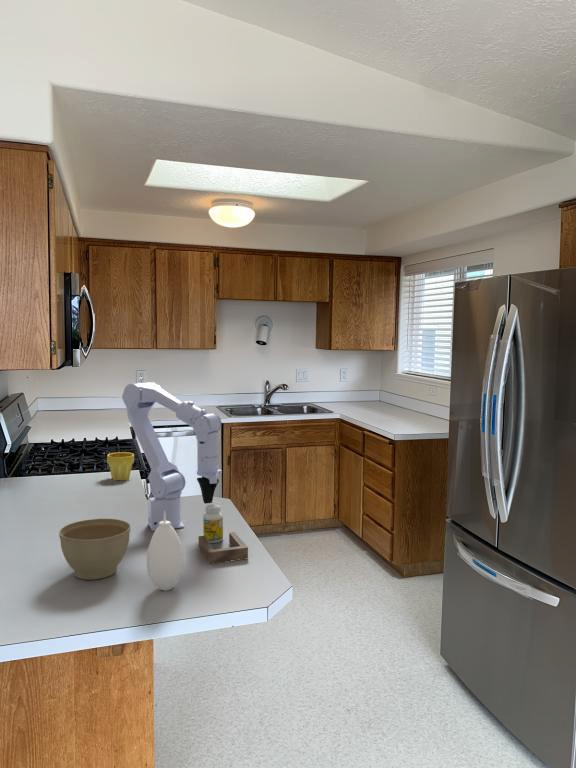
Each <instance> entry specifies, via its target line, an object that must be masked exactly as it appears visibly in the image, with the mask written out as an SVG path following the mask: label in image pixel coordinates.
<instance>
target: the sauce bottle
mask: <svg viewBox="0 0 576 768" xmlns="http://www.w3.org/2000/svg"><path fill="white" fill-rule="evenodd" d="M146 553H147V554H146V569H147V573H148V577H149V580H150V582H151V583H152V585H153V586H155V587H157V589H158V590H161V591H163V590H165V591H164V592H166V590H167V591H169V590H170V589H173V588H174V586H175V585H177V584H178V582H179V581H180V579H181V576H182V574H183V569H184V551H183V547H182V542H181V539H180V538H179V535H178V533H177V532H176V530H175V528H173V527H172V526H171V522H170V521H166V513H165V510H164V521H161V522H159V527H158V528H157V529H156V531H153V534H152V537H151V539H150V542H149V545H148V549H147V552H146Z"/></svg>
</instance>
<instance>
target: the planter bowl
mask: <svg viewBox="0 0 576 768" xmlns="http://www.w3.org/2000/svg"><path fill="white" fill-rule="evenodd" d="M130 532H131V524H130V523H129V522H128V521H126V520H122V519H118V518H117V519H116V518H91V519H84V520H79V521H75V522H71V523H69V524H67V525H64V526H62V527H61V528H60V529H59V531H58V535H59V539H60V547H61V551H62V553H63V556H64V559H65V560H66V563H67V564H68V566H69V567H70V568H71V569H72V570H73V572H74V576H75V577H76V578H79V579H80V580H81V579H82V580H99V579H104V578H107V577H110V576H112V575H114V574H116V572H117V570H118V569H117V568H118V566H119V564H120V563H121V562H122V560H123V558H124V557H125V554H126V553H127V550H128V548H129V547H128V546H129V542H130Z"/></svg>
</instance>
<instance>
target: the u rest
mask: <svg viewBox="0 0 576 768" xmlns="http://www.w3.org/2000/svg"><path fill="white" fill-rule="evenodd" d="M228 543H230V544H231V545H230V544H229V545H230V547H223V548H217V549H214V548H213V546H212V545H211V543H209V542H208V541H207V539H206V538H205V536H204V535H198V549H199V548H200V549H199V550H200V552H201V553H202V555H203V556H204V558H205V560H206V559H207V560H206V561H207V563H208V562H209V563H208V564H209V565H212V564H211V563H215V564H220V563H219V562H222V563H226V562H225V561H229V562H232V561H231V560H236V561H239V560H238V559H244V560H246V559H245V558H248V559H249V547H248V546H247V544H245V542H244V541H243V540H242V539H241V537H239V536H238V534H237V533H236V532H235V531H232V532H231V531H230V532H229V533H228Z"/></svg>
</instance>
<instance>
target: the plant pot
mask: <svg viewBox="0 0 576 768" xmlns="http://www.w3.org/2000/svg"><path fill="white" fill-rule="evenodd" d="M106 460H107V461H106V464H108V465H109V466H108V467H109V471H110V475H111V480H112V479H113V480H112V481H116V480H123V481H127V480H126V479H128V480H130V477H131V471H132V467H133V464H134V462H135V454H134V453H132V452H129V451H128V452H127V451H121V452H119V451H118V452H112V453H108V454H107V455H106Z"/></svg>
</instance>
